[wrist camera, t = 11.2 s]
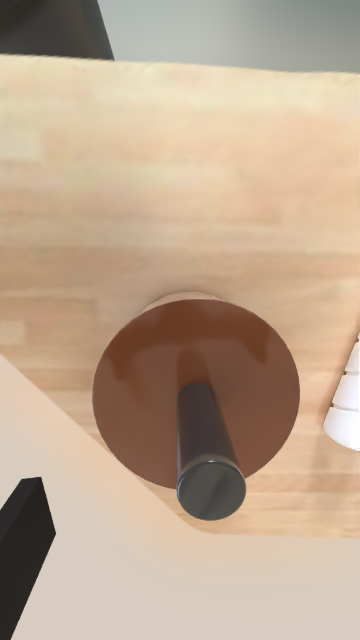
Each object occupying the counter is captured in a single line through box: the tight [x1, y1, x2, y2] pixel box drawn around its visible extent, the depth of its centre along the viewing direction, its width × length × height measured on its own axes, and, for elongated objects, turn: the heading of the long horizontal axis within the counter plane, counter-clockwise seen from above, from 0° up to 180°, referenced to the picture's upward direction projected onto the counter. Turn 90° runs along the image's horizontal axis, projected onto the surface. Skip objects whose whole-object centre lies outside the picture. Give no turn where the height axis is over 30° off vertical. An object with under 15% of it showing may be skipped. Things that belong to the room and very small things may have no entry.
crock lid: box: [92, 297, 300, 521], centre depth 15 cm, size 14×14×9 cm
